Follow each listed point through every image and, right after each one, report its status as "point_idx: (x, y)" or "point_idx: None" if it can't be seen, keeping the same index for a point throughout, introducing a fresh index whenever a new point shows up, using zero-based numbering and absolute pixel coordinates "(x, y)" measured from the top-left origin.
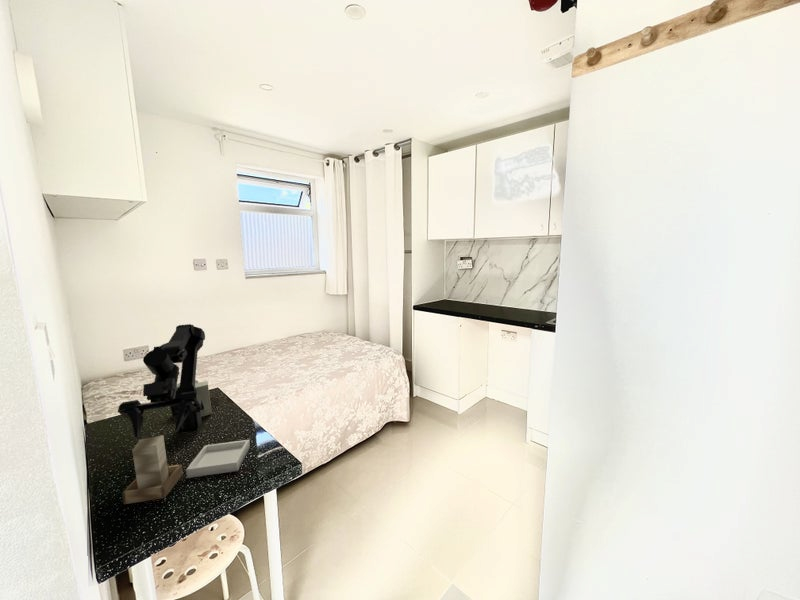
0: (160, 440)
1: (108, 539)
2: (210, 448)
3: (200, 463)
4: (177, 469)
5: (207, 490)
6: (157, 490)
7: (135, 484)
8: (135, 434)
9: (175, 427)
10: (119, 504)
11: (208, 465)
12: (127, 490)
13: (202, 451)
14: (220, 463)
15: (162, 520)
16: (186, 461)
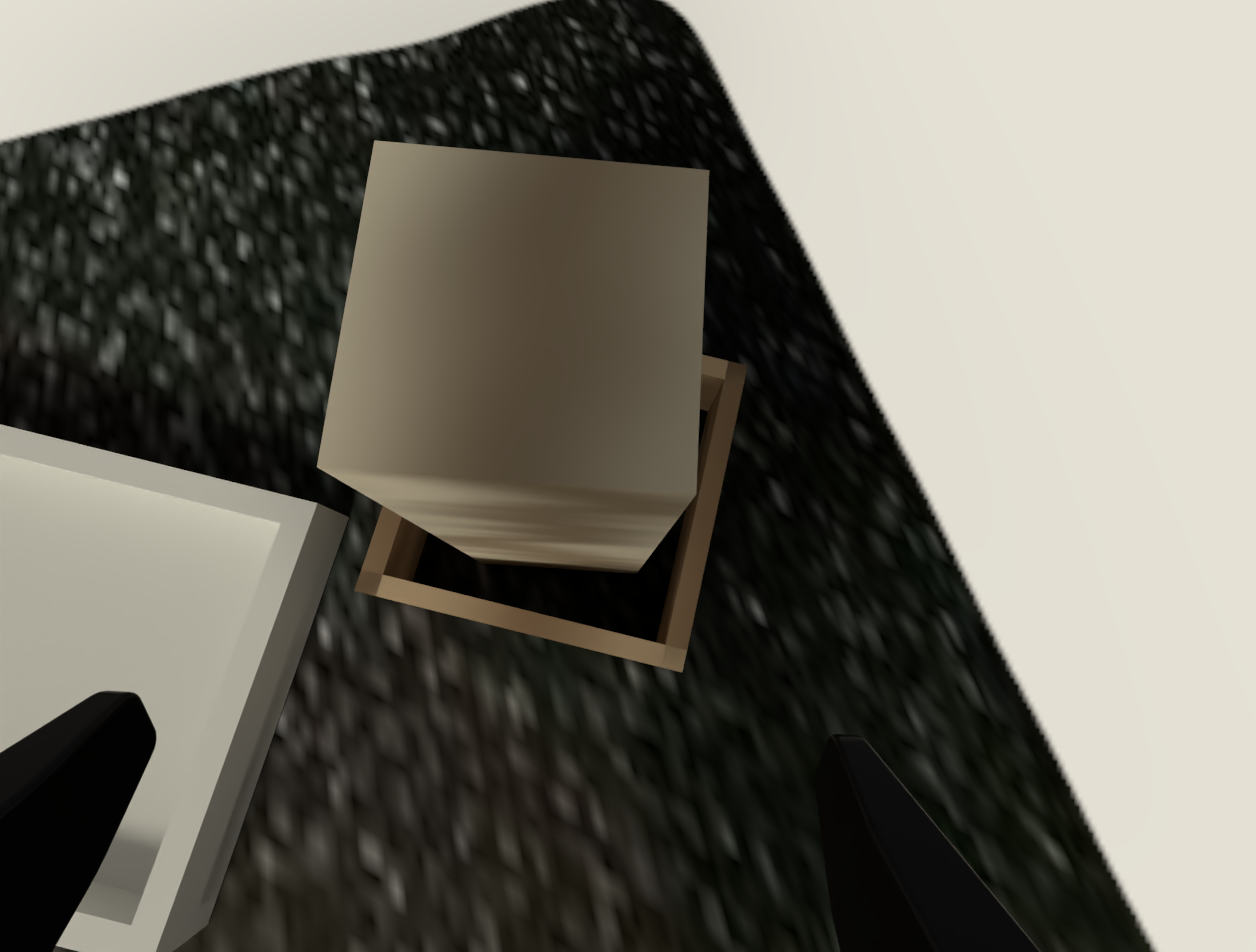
0: (353, 328)
1: (687, 113)
2: (116, 902)
3: (232, 650)
4: (381, 512)
5: (199, 280)
6: None
7: (696, 493)
8: (879, 775)
9: (98, 718)
10: (754, 413)
11: (126, 472)
12: (719, 395)
13: (178, 812)
14: (22, 453)
15: (442, 125)
16: (384, 833)
